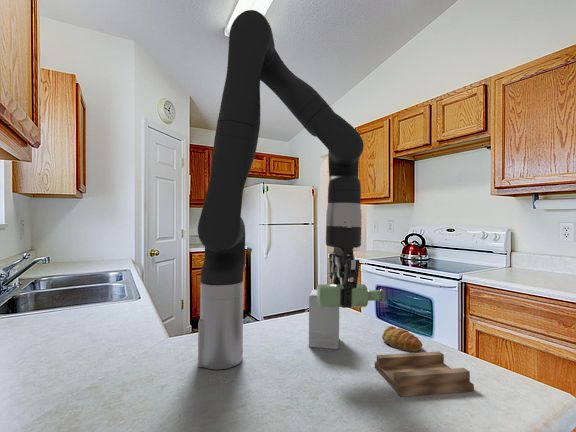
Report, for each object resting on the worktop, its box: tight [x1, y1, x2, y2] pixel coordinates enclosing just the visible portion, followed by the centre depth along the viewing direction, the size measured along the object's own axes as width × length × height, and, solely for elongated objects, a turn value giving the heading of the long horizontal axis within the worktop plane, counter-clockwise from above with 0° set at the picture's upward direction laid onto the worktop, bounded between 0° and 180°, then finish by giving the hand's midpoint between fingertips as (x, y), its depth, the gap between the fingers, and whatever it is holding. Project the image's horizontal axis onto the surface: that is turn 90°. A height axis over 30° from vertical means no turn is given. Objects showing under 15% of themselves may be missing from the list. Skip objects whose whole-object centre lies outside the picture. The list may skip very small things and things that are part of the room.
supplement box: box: [308, 289, 340, 350], centre depth 78 cm, size 7×7×13 cm
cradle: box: [374, 351, 475, 398], centre depth 60 cm, size 14×11×3 cm
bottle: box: [316, 283, 386, 308], centre depth 67 cm, size 14×5×5 cm, turn 98°
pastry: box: [382, 325, 423, 353], centre depth 77 cm, size 9×7×4 cm
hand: (341, 303), depth 67 cm, fingers closed on bottle, 4 cm apart
